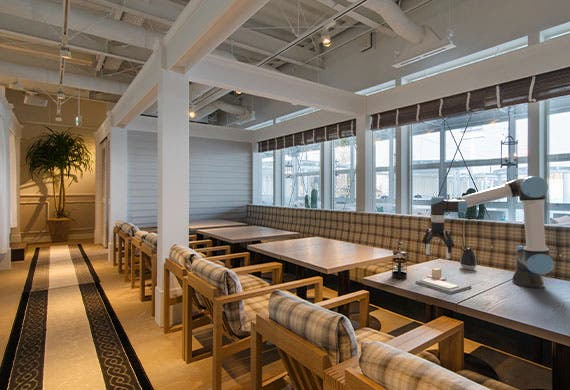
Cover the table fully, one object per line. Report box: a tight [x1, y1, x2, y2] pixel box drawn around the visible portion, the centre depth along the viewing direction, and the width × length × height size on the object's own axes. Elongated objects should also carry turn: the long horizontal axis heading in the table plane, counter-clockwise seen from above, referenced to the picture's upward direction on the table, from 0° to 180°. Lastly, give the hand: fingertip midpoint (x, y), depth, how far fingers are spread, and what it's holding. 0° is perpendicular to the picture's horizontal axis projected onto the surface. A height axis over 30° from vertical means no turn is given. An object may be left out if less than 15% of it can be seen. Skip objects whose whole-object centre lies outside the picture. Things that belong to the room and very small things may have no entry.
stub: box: [426, 267, 447, 281], centre depth 199 cm, size 9×6×6 cm, turn 31°
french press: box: [391, 241, 408, 281], centre depth 206 cm, size 12×9×23 cm
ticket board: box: [415, 277, 472, 295], centre depth 190 cm, size 22×20×2 cm
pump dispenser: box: [459, 247, 478, 271], centre depth 228 cm, size 10×10×15 cm
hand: (437, 256), depth 198 cm, fingers open, 13 cm apart
